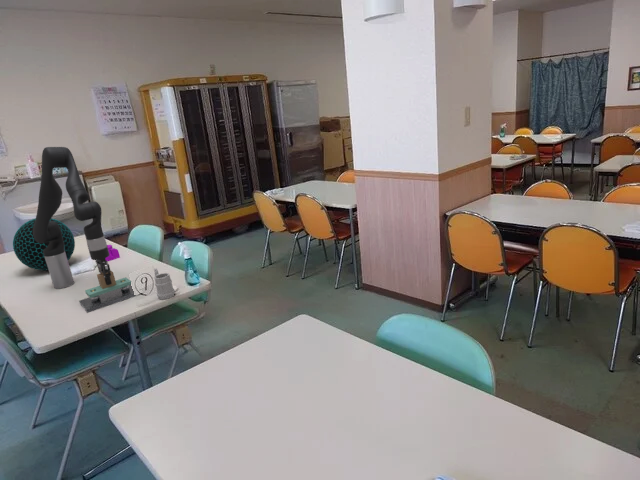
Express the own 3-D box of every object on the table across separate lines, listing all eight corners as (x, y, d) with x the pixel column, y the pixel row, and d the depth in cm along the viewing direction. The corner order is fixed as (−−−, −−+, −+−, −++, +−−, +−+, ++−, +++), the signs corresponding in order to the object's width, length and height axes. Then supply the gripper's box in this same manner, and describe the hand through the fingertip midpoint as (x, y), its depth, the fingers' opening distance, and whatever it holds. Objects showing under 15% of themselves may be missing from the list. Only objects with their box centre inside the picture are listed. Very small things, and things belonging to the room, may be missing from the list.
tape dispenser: (94, 258, 271) (91, 248, 269) (110, 253, 277) (108, 243, 275) (104, 262, 260) (101, 252, 258) (121, 257, 266) (118, 247, 264)
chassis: (80, 303, 203) (76, 290, 201) (133, 286, 217) (130, 273, 215) (87, 312, 192) (83, 298, 190) (143, 293, 206) (139, 280, 204)
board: (126, 280, 211) (122, 265, 209) (132, 284, 205) (128, 268, 203) (85, 293, 201) (81, 277, 199) (90, 297, 195) (85, 282, 193)
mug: (162, 301, 195) (156, 275, 191) (151, 295, 203) (145, 270, 200) (178, 295, 200) (172, 270, 196) (167, 289, 208) (161, 265, 205)
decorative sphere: (83, 255, 278) (70, 208, 270) (77, 270, 251) (61, 218, 242) (29, 266, 269) (13, 218, 260) (16, 282, 242) (-2, 229, 233)
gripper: (111, 247, 194) (121, 284, 199) (102, 242, 205) (111, 277, 210) (92, 252, 190) (103, 289, 195) (84, 247, 201) (95, 282, 206)
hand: (107, 283), depth 202 cm, fingers closed on board, 4 cm apart
